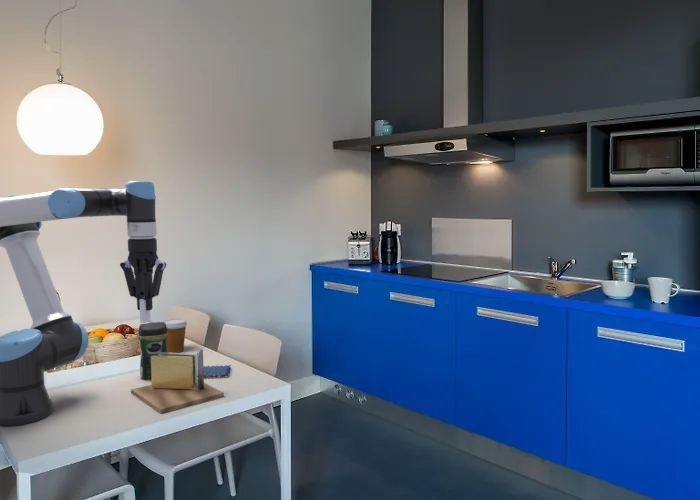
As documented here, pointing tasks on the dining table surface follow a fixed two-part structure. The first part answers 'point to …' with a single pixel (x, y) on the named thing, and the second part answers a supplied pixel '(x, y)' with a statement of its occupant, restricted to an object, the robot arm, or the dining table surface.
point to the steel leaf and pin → (198, 361)
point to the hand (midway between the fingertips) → (145, 321)
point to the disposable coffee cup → (175, 335)
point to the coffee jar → (151, 344)
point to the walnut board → (175, 396)
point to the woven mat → (216, 371)
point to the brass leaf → (172, 372)
